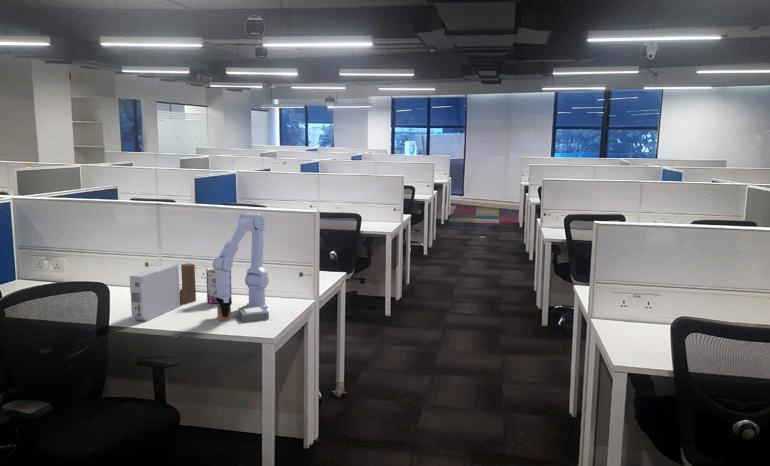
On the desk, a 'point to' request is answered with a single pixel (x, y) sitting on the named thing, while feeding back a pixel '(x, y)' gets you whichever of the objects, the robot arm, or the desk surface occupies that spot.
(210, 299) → the candy bar box
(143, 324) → the desk surface
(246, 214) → the robot arm
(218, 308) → the salmon brown cube
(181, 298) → the wooden block
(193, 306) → the desk surface
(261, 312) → the grey square frame
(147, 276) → the game console
